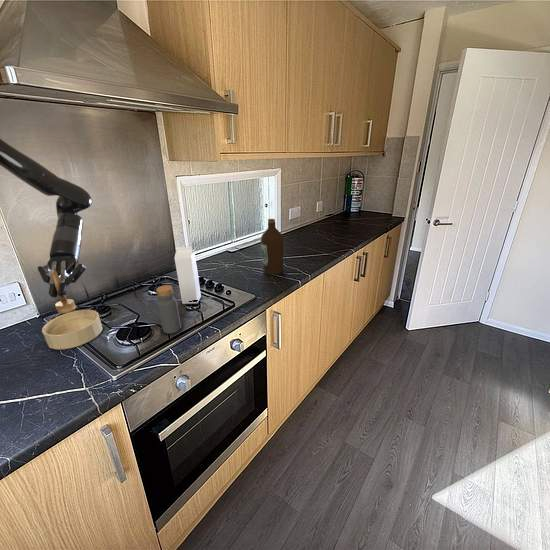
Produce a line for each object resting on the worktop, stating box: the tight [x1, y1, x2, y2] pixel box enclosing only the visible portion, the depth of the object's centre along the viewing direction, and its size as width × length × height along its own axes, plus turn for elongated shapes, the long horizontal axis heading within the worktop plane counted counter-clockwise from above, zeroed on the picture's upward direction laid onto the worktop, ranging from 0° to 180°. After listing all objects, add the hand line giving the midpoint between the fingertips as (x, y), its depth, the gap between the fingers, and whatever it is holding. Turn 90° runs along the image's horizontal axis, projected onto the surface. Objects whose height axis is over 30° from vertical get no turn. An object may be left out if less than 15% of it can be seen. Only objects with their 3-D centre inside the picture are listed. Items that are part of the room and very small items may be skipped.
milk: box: [174, 246, 202, 305], centre depth 111 cm, size 6×6×22 cm
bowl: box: [41, 309, 104, 350], centre depth 94 cm, size 15×15×6 cm
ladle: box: [50, 270, 77, 314], centre depth 88 cm, size 5×5×13 cm
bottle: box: [155, 284, 182, 335], centre depth 94 cm, size 6×6×15 cm
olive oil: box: [260, 218, 285, 276], centre depth 136 cm, size 11×11×25 cm
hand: (57, 296), depth 87 cm, fingers closed on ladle
